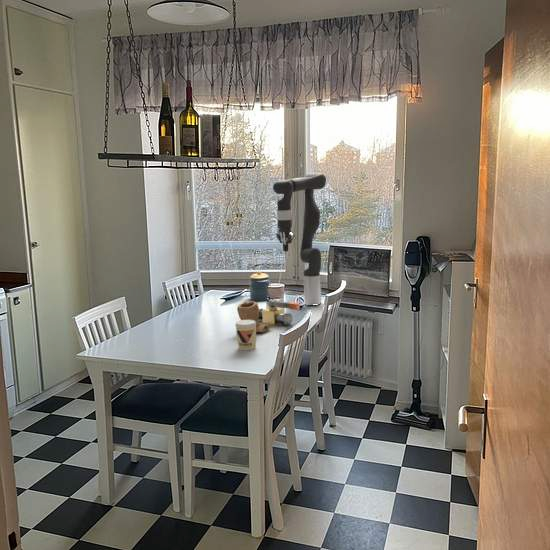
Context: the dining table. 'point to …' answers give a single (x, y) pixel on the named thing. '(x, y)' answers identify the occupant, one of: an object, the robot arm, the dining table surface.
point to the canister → (259, 286)
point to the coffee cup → (246, 334)
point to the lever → (284, 304)
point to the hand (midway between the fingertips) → (285, 251)
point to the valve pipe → (274, 316)
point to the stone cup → (252, 315)
